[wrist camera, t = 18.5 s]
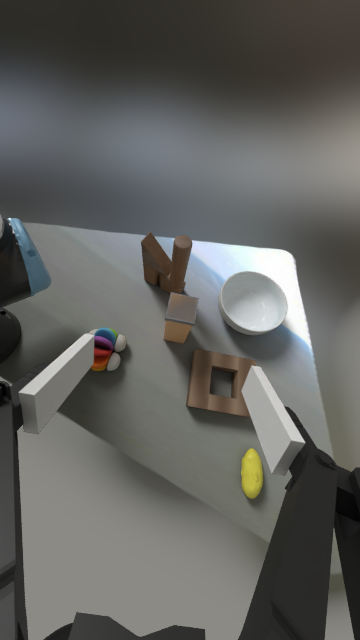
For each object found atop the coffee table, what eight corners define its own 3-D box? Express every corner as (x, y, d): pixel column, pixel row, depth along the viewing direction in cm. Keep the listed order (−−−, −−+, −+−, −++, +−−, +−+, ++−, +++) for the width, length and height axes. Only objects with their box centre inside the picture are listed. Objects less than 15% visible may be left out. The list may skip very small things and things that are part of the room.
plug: (162, 340, 48) (165, 317, 35) (166, 320, 50) (170, 292, 37) (184, 344, 48) (194, 323, 35) (187, 324, 50) (198, 298, 37)
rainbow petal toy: (79, 367, 43) (65, 361, 36) (96, 327, 47) (86, 315, 40) (116, 376, 43) (109, 372, 37) (130, 336, 47) (126, 325, 40)
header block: (185, 405, 42) (188, 406, 39) (193, 352, 47) (196, 348, 44) (247, 416, 43) (255, 418, 40) (248, 363, 48) (255, 360, 45)
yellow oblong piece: (234, 490, 38) (243, 500, 34) (240, 444, 41) (248, 448, 37) (255, 496, 38) (265, 506, 34) (259, 449, 41) (269, 454, 37)
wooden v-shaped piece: (151, 271, 55) (149, 215, 38) (184, 289, 54) (196, 239, 37) (144, 280, 54) (138, 226, 37) (177, 299, 52) (188, 252, 36)
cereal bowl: (241, 275, 58) (252, 260, 52) (283, 316, 54) (301, 305, 48) (200, 306, 52) (206, 292, 46) (244, 353, 49) (257, 346, 42)
